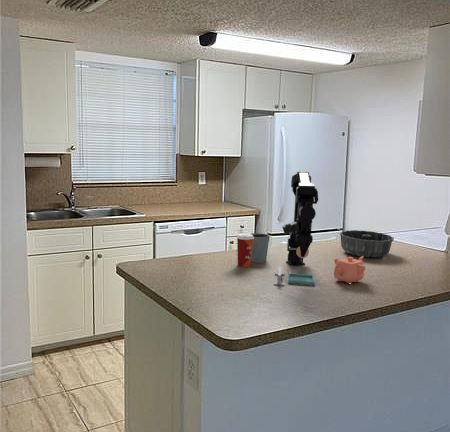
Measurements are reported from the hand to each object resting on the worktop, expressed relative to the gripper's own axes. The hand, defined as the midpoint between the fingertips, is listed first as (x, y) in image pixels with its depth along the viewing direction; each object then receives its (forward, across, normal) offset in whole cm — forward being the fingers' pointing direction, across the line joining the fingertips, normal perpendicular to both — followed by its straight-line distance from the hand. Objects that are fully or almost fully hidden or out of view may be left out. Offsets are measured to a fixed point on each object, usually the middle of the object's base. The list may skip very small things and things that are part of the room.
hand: (302, 255), depth 190 cm
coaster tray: (+11, 0, 0) cm, 11 cm away
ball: (+1, 0, 0) cm, 1 cm away
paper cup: (+11, -18, -25) cm, 32 cm away
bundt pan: (+11, -57, +34) cm, 67 cm away
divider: (+11, 0, -8) cm, 14 cm away
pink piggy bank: (+11, -4, +19) cm, 23 cm away
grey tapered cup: (+11, -29, -19) cm, 37 cm away
